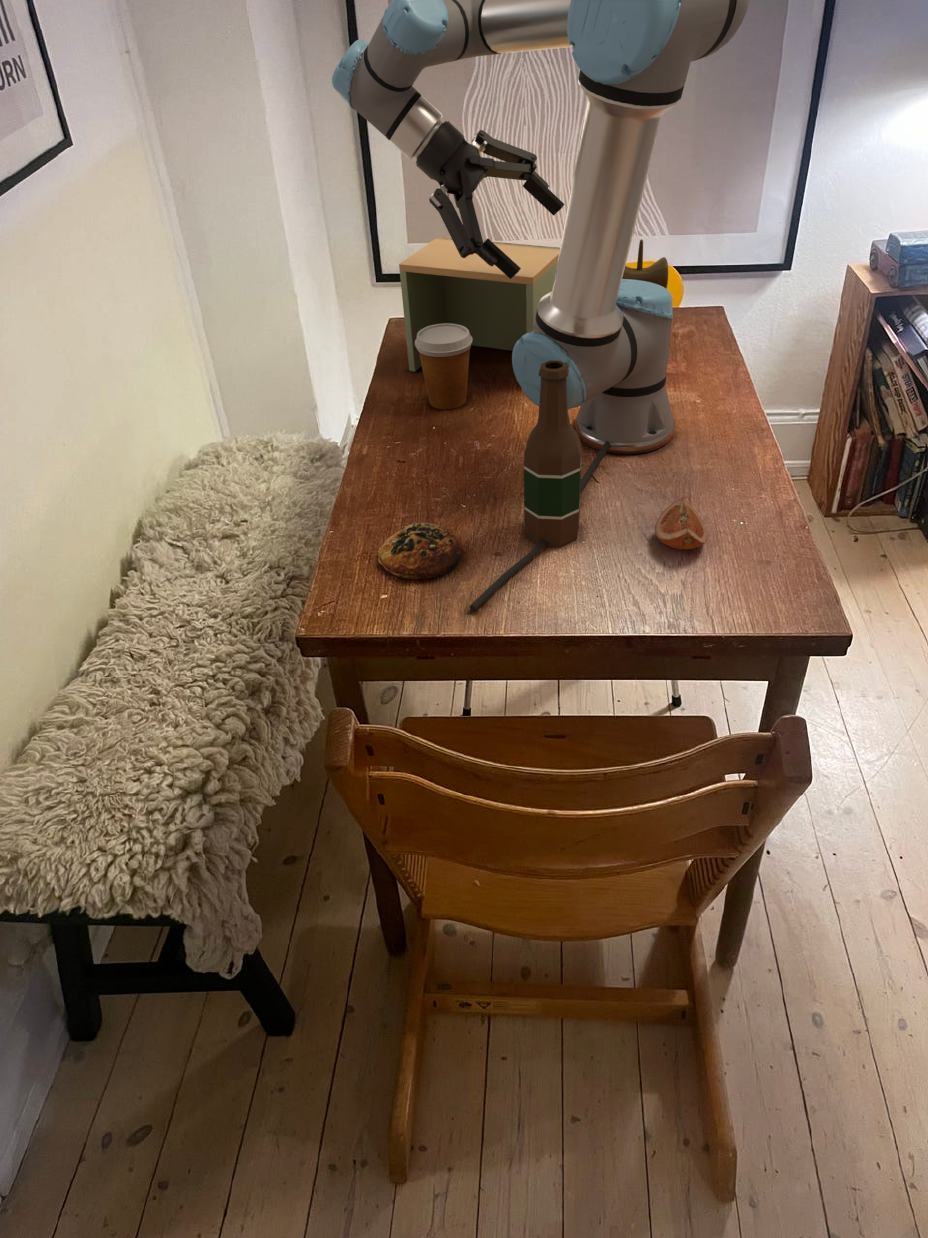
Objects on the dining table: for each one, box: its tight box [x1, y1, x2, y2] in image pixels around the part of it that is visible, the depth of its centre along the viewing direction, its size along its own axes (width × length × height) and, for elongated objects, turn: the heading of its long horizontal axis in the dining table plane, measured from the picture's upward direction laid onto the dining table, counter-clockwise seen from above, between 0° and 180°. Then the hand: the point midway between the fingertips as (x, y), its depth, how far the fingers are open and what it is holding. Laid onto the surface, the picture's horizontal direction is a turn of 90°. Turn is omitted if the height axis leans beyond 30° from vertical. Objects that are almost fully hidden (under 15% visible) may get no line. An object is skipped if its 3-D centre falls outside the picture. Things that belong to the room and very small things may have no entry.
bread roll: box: [377, 522, 462, 580], centre depth 120 cm, size 11×11×5 cm
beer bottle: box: [523, 360, 583, 548], centre depth 116 cm, size 8×8×24 cm
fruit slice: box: [654, 496, 708, 550], centre depth 118 cm, size 8×7×5 cm
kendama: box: [622, 239, 669, 290], centre depth 162 cm, size 6×10×20 cm, turn 89°
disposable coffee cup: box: [415, 323, 473, 410], centre depth 152 cm, size 10×10×12 cm
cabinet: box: [398, 236, 560, 372], centre depth 162 cm, size 15×24×19 cm, turn 65°
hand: (537, 241), depth 138 cm, fingers open, 13 cm apart
